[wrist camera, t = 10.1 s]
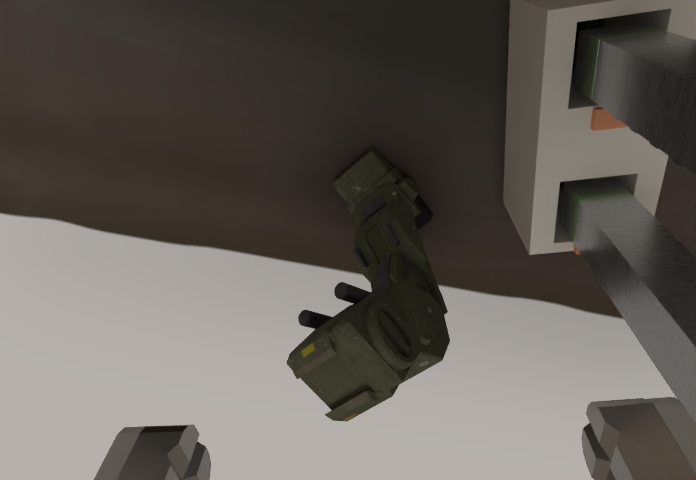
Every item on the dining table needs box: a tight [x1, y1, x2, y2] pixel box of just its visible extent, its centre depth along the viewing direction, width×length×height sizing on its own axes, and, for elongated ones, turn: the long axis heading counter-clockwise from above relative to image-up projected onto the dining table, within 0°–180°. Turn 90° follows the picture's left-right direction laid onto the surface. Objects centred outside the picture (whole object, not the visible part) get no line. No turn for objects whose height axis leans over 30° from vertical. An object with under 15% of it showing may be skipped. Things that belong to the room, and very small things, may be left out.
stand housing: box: [503, 0, 696, 255], centre depth 40 cm, size 20×10×11 cm, turn 8°
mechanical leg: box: [287, 148, 450, 421], centre depth 38 cm, size 14×7×30 cm, turn 43°
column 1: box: [573, 22, 696, 175], centre depth 26 cm, size 4×4×22 cm
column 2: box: [560, 177, 696, 423], centre depth 32 cm, size 4×4×22 cm
